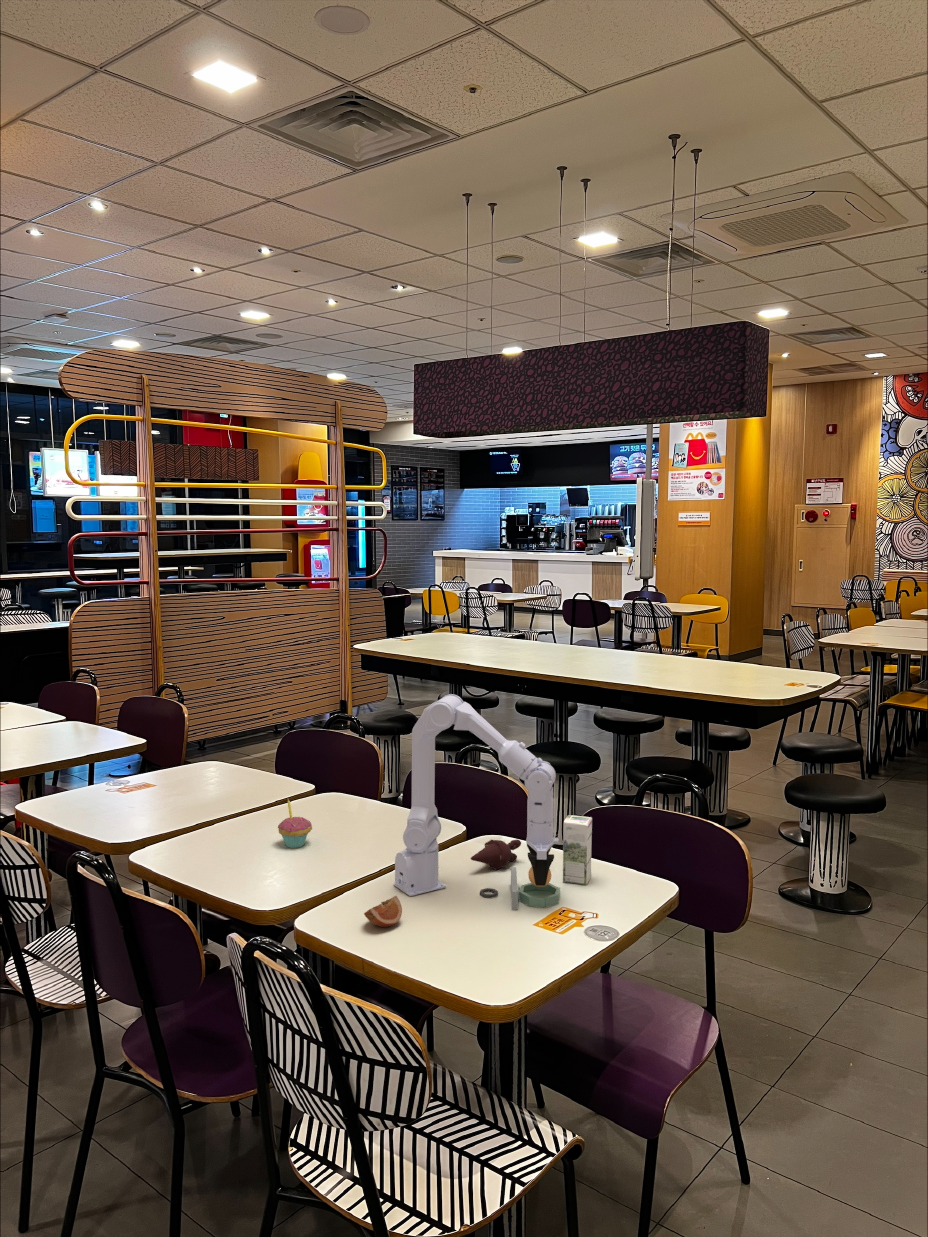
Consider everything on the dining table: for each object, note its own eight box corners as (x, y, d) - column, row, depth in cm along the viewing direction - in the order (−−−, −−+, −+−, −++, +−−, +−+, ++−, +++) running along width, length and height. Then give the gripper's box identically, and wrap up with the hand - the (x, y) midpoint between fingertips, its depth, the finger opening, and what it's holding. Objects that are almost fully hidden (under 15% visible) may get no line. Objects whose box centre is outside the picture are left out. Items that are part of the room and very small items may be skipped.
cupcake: (271, 847, 224) (270, 801, 223) (290, 837, 232) (289, 792, 231) (300, 852, 221) (299, 805, 220) (318, 841, 229) (317, 796, 228)
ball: (537, 892, 189) (537, 869, 189) (523, 884, 193) (523, 862, 193) (555, 887, 192) (556, 865, 191) (542, 880, 196) (542, 858, 196)
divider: (517, 910, 187) (517, 891, 187) (511, 910, 187) (511, 891, 187) (516, 884, 201) (516, 867, 201) (510, 884, 201) (510, 867, 201)
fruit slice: (380, 937, 175) (380, 912, 174) (356, 927, 179) (355, 904, 178) (408, 922, 181) (408, 899, 181) (384, 914, 185) (384, 891, 185)
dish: (535, 910, 187) (535, 901, 187) (512, 896, 194) (512, 887, 194) (567, 901, 192) (567, 892, 191) (543, 888, 199) (543, 879, 199)
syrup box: (591, 876, 206) (592, 816, 204) (586, 886, 200) (587, 823, 199) (567, 873, 208) (568, 813, 206) (562, 883, 202) (562, 821, 201)
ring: (486, 899, 193) (486, 896, 193) (476, 893, 196) (476, 890, 196) (501, 895, 195) (501, 892, 195) (491, 889, 198) (491, 887, 198)
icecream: (484, 853, 203) (531, 845, 212) (465, 837, 208) (512, 829, 218) (477, 880, 204) (524, 870, 214) (458, 863, 210) (505, 854, 219)
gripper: (561, 830, 184) (560, 893, 185) (556, 809, 198) (556, 867, 200) (527, 830, 184) (526, 893, 185) (525, 808, 199) (524, 867, 200)
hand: (539, 880), depth 193 cm, fingers closed on ball, 5 cm apart
